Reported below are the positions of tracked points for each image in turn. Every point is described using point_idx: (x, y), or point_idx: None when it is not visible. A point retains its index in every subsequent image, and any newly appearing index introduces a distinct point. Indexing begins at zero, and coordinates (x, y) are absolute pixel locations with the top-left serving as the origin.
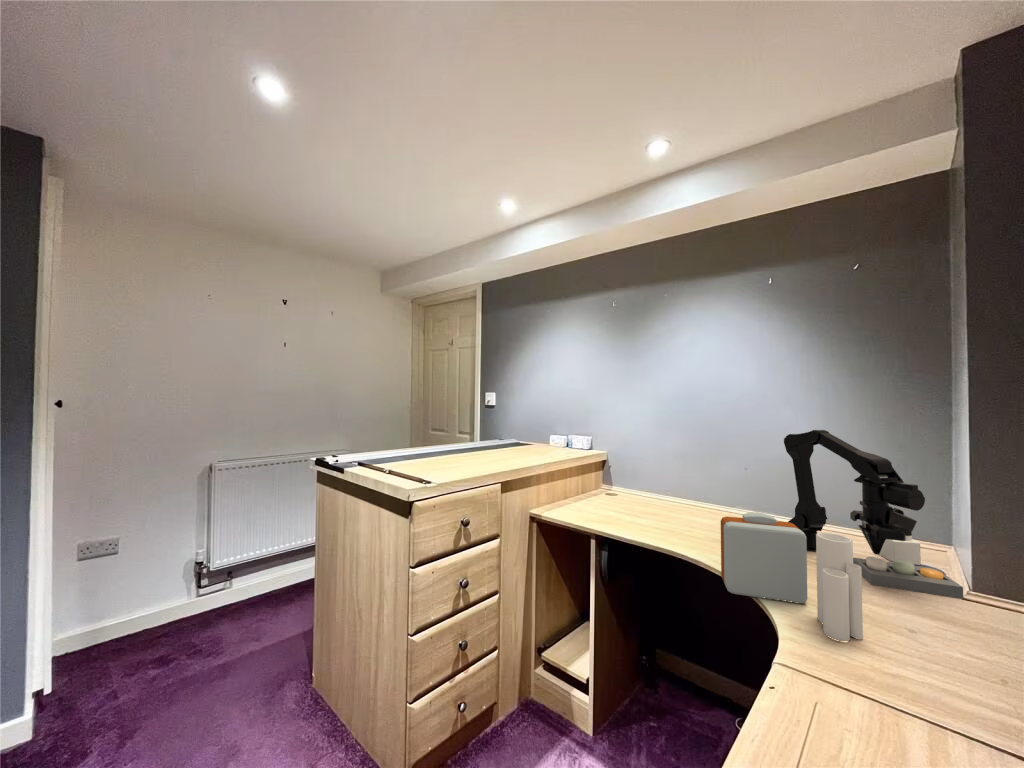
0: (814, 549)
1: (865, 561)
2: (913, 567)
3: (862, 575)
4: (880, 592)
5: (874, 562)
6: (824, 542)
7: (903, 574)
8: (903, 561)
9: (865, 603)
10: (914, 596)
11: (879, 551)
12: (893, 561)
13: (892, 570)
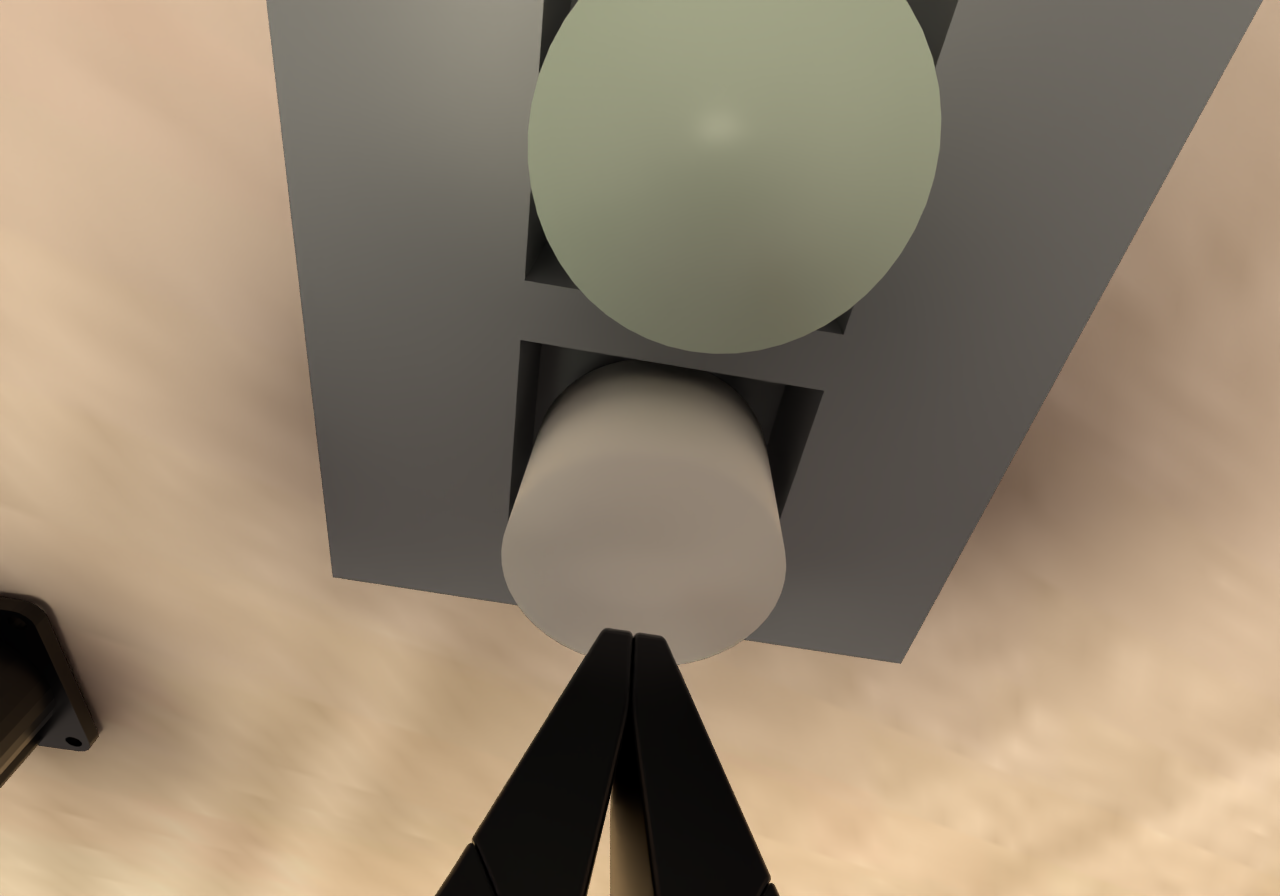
0: (26, 645)
1: (440, 508)
2: (910, 26)
3: None
4: (1051, 577)
5: (743, 626)
6: None
7: None
8: (580, 63)
9: (1234, 771)
10: (1188, 290)
11: (687, 703)
12: (659, 330)
13: None
